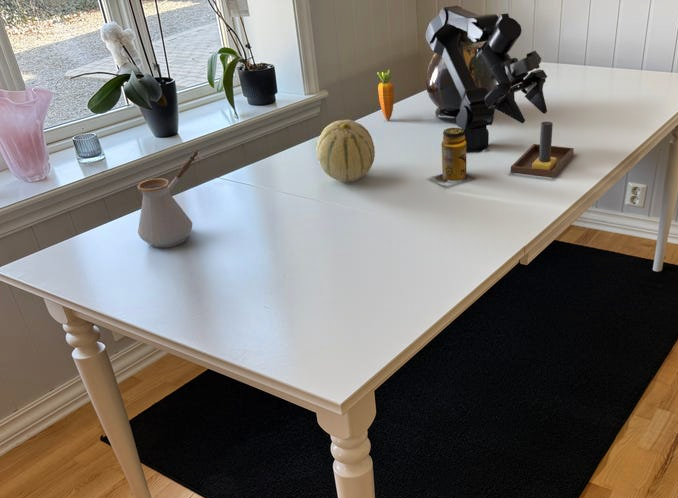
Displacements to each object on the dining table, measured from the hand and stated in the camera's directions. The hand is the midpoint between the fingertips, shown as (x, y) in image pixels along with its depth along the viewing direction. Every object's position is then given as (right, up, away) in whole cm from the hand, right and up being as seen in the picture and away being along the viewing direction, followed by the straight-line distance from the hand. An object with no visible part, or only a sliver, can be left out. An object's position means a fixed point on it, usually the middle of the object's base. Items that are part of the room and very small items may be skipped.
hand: (535, 117), depth 169 cm
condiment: (-20, -14, +5) cm, 25 cm away
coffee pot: (-81, -30, -13) cm, 88 cm away
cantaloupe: (-46, -13, +8) cm, 49 cm away
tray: (+4, -9, +9) cm, 13 cm away
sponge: (+3, -11, +5) cm, 13 cm away
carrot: (-38, +15, +47) cm, 62 cm away
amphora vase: (-15, +17, +47) cm, 52 cm away
